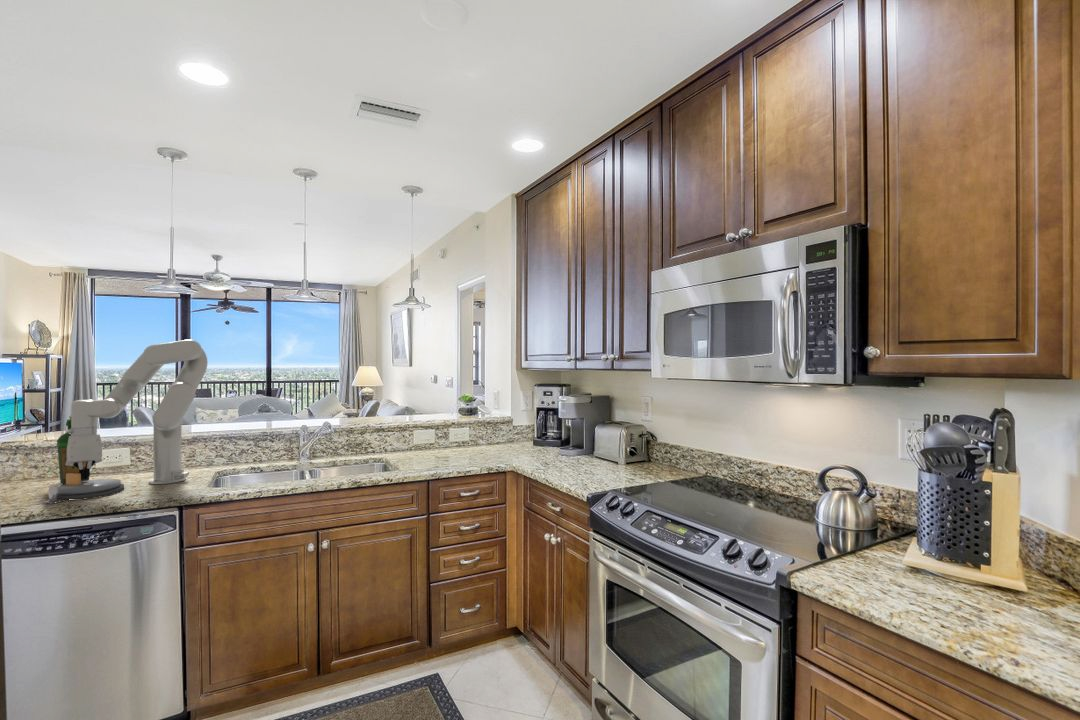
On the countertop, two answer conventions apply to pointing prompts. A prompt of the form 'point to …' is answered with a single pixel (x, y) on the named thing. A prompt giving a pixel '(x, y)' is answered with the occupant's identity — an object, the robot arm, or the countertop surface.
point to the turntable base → (92, 494)
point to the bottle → (62, 451)
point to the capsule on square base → (53, 494)
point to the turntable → (86, 485)
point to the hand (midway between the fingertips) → (84, 478)
